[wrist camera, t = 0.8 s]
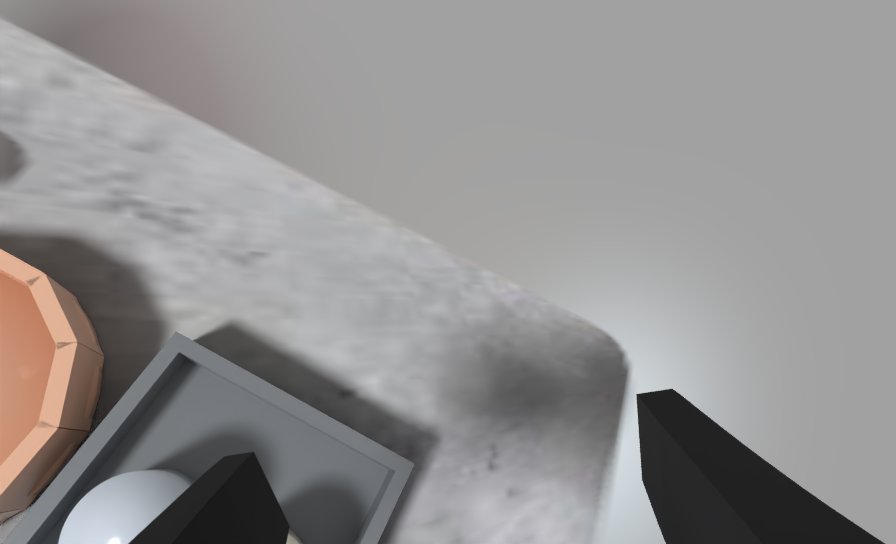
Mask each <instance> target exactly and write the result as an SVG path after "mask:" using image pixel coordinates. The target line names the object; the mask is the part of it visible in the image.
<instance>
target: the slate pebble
mask: <svg viewBox="0 0 896 544" xmlns="http://www.w3.org/2000/svg"><path fill="white" fill-rule="evenodd" d="M194 482H195V480H194V479H193V478H192V477H190V476H189V475H187V474H185V473H183V472H181V471H177V470H173V469H154V470H144V471H134V472H128V473H124V474H120V475H118V476H115V477H112V478H110V479H108V480H106V481H104V482H102V483H101V484H99V485H98V486H96V487H95V488H93V489H92V490H91V491H90V492H88V493H87V494H86V495H85V496H84V497H83V498H82V499H81V500H80V501H79V502H78V504H77V505H76V506H75V507H74V509H73V510H72V511H71V513H70V514H69V516H68V518H67V520H66V522H65V524H64V526H63V528H62V531H61V534H60V538H59V543H58V544H128V543H129V542H130V541H131V540H133V539H134V538H135V537H136V536H137V535H138V534H139V533H140V532H141V531H142V530H143V529H144V528H145V527H147V526H148V525H149V524H150V523H151V522H152V521H153V520H154V519H155V518H156V517H157V516H158V515H159V514H161V513H162V512H163V511H164V510H165V509H166V508H167V507H168V506H169V505H170V504H171V503H172V502H173V501H175V500H176V499H177V498H178V497H179V496H180V495H181V494H182V493H183V492H184V491H185V490H186V489H187V488H189V487H190V486H191V485H192V484H193V483H194Z"/></svg>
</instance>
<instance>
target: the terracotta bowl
mask: <svg viewBox="0 0 896 544" xmlns="http://www.w3.org/2000/svg"><path fill="white" fill-rule="evenodd" d="M103 362H104V354H103V352H102V350H101V348H100V345H99V340H98V338H97V335H96V332H95V330H94V327H93V325H92V323H91V321H90V320H89V318H88V316H87V315H86V313H85V311H84V310H83V309H82V308H81V306H80V304H79V302H78V300H77V298H76V297H75V296H74V295H73V294H72V293H70V292H69V291H68V290H66V289H65V288H64V287H62V286H61V285H60V284H58V283H57V282H56V281H54V280H53V279H52V278H50V277H49V276H48V275H46V274H45V273H43V272H41V271H40V270H38V269H36V268H34V267H32V266H31V265H29V264H27V263H25V262H23V261H22V260H20V259H18V258H16V257H14V256H12V255H11V254H9V253H7V252H5V251H3V250H2V249H0V524H1V523H3V522H4V521H6V520H7V519H8V518H10V517H11V516H13V515H15V514H17V513H18V512H20V511H22V510H24V509H26V507H28V506H29V505H30V504H31V502H32V501H33V500H34V499H35V497H36V496H37V495H38V494H39V493H40V492H41V491H42V490H44V489H45V488H46V487H47V485H48V484H49V483H50V482H51V481H52V480H53V479H54V478H55V477H56V476H57V475H58V473H59V472H60V471H61V470H62V469H63V468H64V466H65V465H66V463H67V462H68V461H69V459H70V458H71V457H72V455H73V454H74V453H75V451H76V450H77V448H78V446H79V444H80V443H81V442H82V440H83V439H84V438H85V437H86V436H87V434H88V433H89V432H88V431H90V428H91V423H92V418H93V416H94V414H95V411H96V407H97V403H98V400H99V396H100V391H101V383H102V375H103V374H102V367H103Z"/></svg>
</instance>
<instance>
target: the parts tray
mask: <svg viewBox="0 0 896 544" xmlns="http://www.w3.org/2000/svg"><path fill="white" fill-rule="evenodd" d="M248 452H254V453H255V455H256V457H257V459H258V461H259V463H260V465H261V467H262V469H263V472H264V474H265V476H266V478H267V480H268V482H269V484H270V486H271V488H272V490H273V492H274V494H275V496H276V499H277V501H278V503H279V505H280V507H281V509H282V511H283V513H284V515H285V517H286V519H287V521H288V523H289V526H290V528H289V529H291V530H292V531H293V532H295V533H296V534H297V536H298V537H299V538H300V540H301V541H302V543H303V544H377V543H378V541H379V539H380V537H381V535H382V533H383V530H384V528H385V526H386V524H387V522H388V520H389V518H390V516H391V513H392V511H393V509H394V507H395V505H396V503H397V501H398V498H399V496H400V494H401V492H402V490H403V488H404V486H405V484H406V481H407V479H408V477H409V475H410V473H411V471H412V469H413V467H414V463H412V462H411V461H409V460H407V459H405V458H403V457H402V456H400V455H398V454H396V453H394V452H393V451H391V450H389V449H387V448H385V447H384V446H382V445H380V444H378V443H376V442H375V441H373V440H371V439H369V438H367V437H366V436H364V435H362V434H360V433H358V432H357V431H355V430H353V429H351V428H349V427H347V426H346V425H344V424H342V423H340V422H338V421H337V420H335V419H333V418H331V417H329V416H328V415H326V414H324V413H322V412H320V411H319V410H317V409H315V408H313V407H311V406H310V405H308V404H306V403H304V402H302V401H301V400H299V399H297V398H295V397H293V396H292V395H290V394H288V393H286V392H284V391H283V390H281V389H279V388H277V387H275V386H274V385H272V384H270V383H268V382H266V381H264V380H263V379H261V378H259V377H257V376H255V375H254V374H252V373H250V372H248V371H246V370H245V369H243V368H241V367H239V366H237V365H236V364H234V363H232V362H230V361H228V360H227V359H225V358H223V357H221V356H219V355H218V354H216V353H214V352H212V351H210V350H209V349H207V348H205V347H203V346H201V345H200V344H198V343H196V342H194V341H192V340H190V339H189V338H187V337H185V336H183V335H181V334H180V333H178V332H175V333H174V334H173V335H172V337H171V338H170V339H169V340H168V342H167V343H166V344H165V345H164V346H163V348H162V349H161V350H160V351H159V353H158V354H157V355H156V356H155V357H154V359H153V360H152V361H151V362H150V364H149V365H148V366H147V367H146V368H145V370H144V371H143V372H142V373H141V374H140V376H139V377H138V378H137V379H136V381H135V382H134V383H133V384H132V385H131V387H130V388H129V389H128V390H127V392H126V393H125V394H124V395H123V396H122V398H121V399H120V400H119V401H118V403H117V404H116V405H115V406H114V407H113V409H112V410H111V411H110V412H109V414H108V415H107V416H106V417H105V418H104V420H103V421H102V422H101V423H100V424H99V426H98V427H97V428H96V429H95V431H94V432H93V433H92V434H91V435H90V437H89V438H88V439H87V440H86V442H85V443H84V444H83V445H82V446H81V448H80V449H79V450H78V451H77V453H76V454H75V455H74V456H73V457H72V459H71V460H70V461H69V462H68V464H67V465H66V466H65V467H64V468H63V470H62V471H61V472H60V473H59V474H58V476H57V477H56V478H55V479H54V481H53V482H52V483H51V484H50V485H49V487H48V488H47V489H46V490H45V492H44V493H43V494H42V495H41V496H40V498H39V499H38V500H37V501H36V503H35V504H34V505H33V506H32V507H31V509H30V510H29V511H28V512H27V514H26V515H25V516H24V517H23V518H22V520H21V521H20V522H19V523H18V524H17V526H16V527H15V528H14V529H13V531H12V532H11V533H10V534H9V535H8V537H7V538H6V539H5V540H4V542H3V543H2V544H58V543H59V538H60V534H61V531H62V528H63V526H64V524H65V522H66V520H67V518H68V516H69V514H70V513H71V511H72V510H73V509H74V507H75V506H76V505H77V504H78V502H79V501H80V500H81V499H82V498H83V497H84V496H85V495H86V494H87V493H88V492H90V491H91V490H92V489H93V488H95V487H96V486H98V485H99V484H101V483H102V482H104V481H106V480H108V479H110V478H112V477H115V476H118V475H120V474H124V473H128V472H134V471H144V470H154V469H173V470H177V471H181V472H183V473H185V474H187V475H189V476H190V477H192V478H193V479H194V480H195V481H196V480H197V479H198V478H200V477H201V476H202V475H203V474H204V473H205V472H206V471H207V470H209V469H210V468H211V467H212V466H213V465H214V464H216V463H217V462H218V461H219V460H221V459H222V458H223V457H224V456H228V455H235V454H242V453H248Z"/></svg>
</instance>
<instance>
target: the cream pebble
mask: <svg viewBox="0 0 896 544" xmlns="http://www.w3.org/2000/svg"><path fill="white" fill-rule="evenodd" d="M286 544H303V543H302V541H301V540H300V538H299V537H298V536H297V534H296V533H295V532H293V531H292V530H291V529H289V533H288V537H287V542H286Z"/></svg>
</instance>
